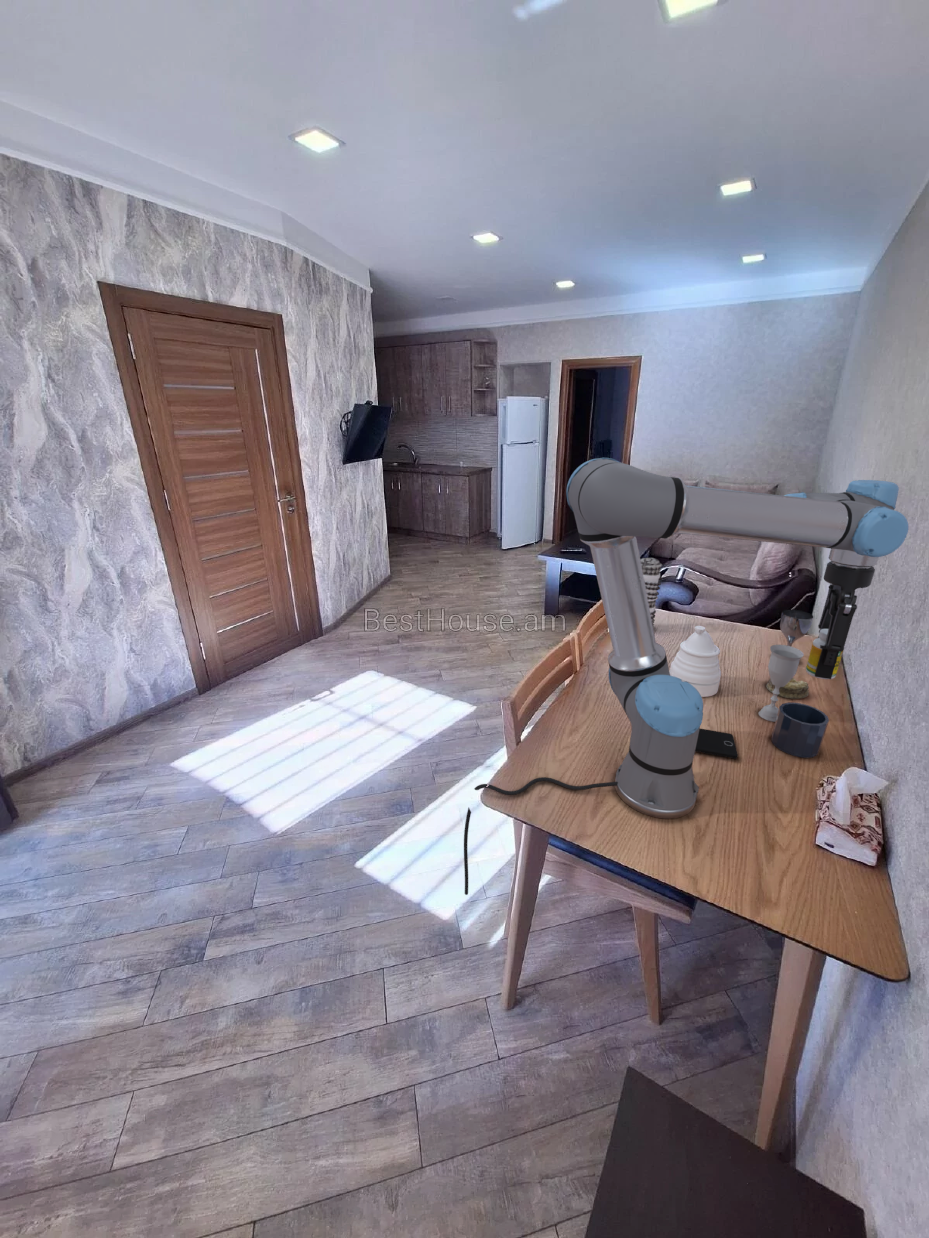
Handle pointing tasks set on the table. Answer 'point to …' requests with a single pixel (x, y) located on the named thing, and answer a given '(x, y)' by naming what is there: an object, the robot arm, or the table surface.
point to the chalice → (780, 674)
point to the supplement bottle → (816, 653)
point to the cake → (791, 689)
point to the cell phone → (716, 743)
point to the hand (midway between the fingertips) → (820, 670)
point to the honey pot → (698, 663)
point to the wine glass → (795, 624)
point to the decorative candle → (651, 582)
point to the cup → (799, 729)
